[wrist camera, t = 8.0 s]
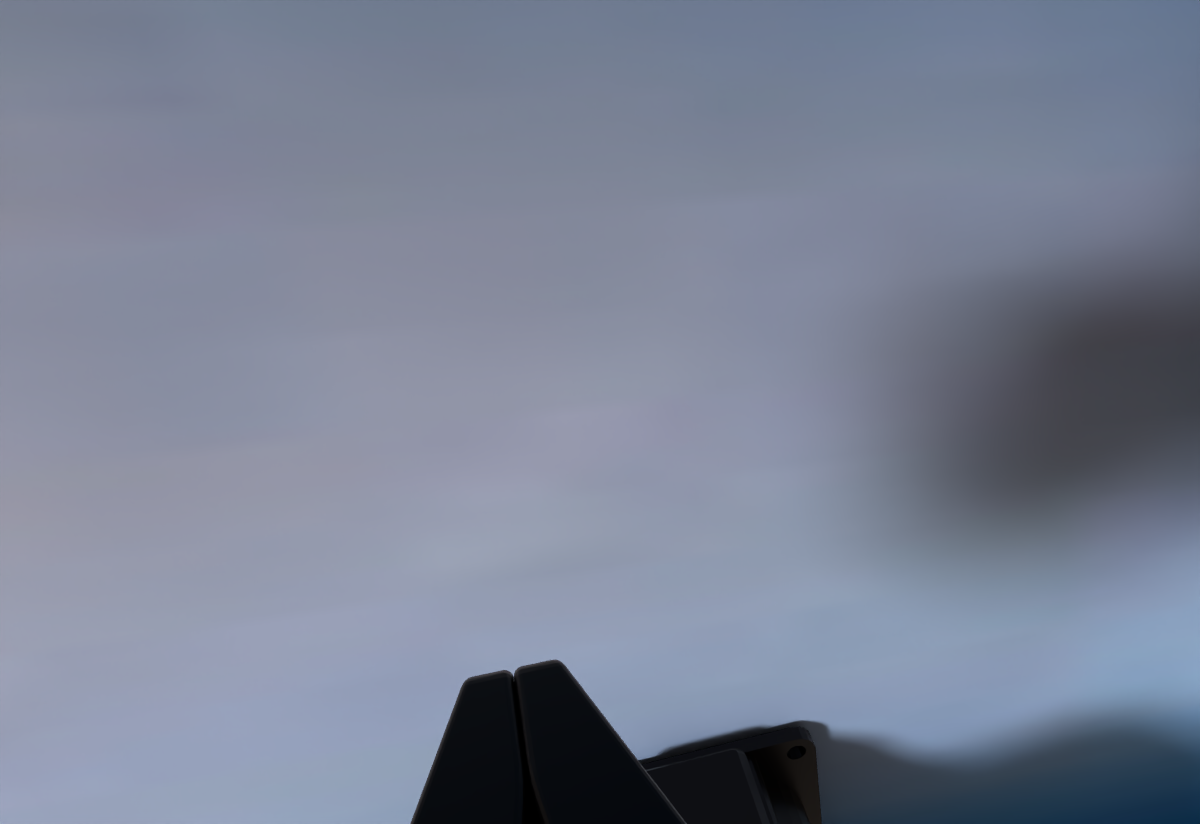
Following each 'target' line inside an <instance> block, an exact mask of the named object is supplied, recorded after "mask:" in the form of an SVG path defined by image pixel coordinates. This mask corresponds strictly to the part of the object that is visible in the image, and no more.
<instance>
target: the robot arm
mask: <svg viewBox="0 0 1200 824" xmlns="http://www.w3.org/2000/svg"><path fill="white" fill-rule="evenodd" d="M411 824H822V822H821V809H820V797H819V785H818V773H817V761H816V748H815V745H814V743H813V741H812V738H811V736H810V733H809V731H808V730H806V729H805V728H801V727H792V728H787V729H783V730H779V731H775V732H771V733H767V734H763V735H759V736H755V737H751V738H747V739H743V740H739V741H735V742H731V743H727V744H723V745H719V746H715V747H711V748H707V749H703V750H699V751H695V752H691V753H687V754H683V755H679V756H675V757H671V758H667V759H663V760H659V761H655V762H651V763H647V764H643V765H641V764H640V762H639V761H638V760H637V758H636V757H635V756H634V755H633V753H632V752H631V751H630V749H629V748H628V747H627V745H626V744H625V743H624V741H623V740H622V739H621V738H620V736H619V735H618V734H617V732H616V731H615V730H614V728H613V727H612V726H611V725H610V723H609V722H608V721H607V719H606V718H605V717H604V715H603V714H602V713H601V712H600V710H599V709H598V708H597V706H596V705H595V704H594V702H593V701H592V700H591V699H590V697H589V696H588V695H587V693H586V692H585V691H584V689H583V688H582V687H581V686H580V684H579V683H578V682H577V680H576V679H575V678H574V676H573V675H572V674H571V673H570V671H569V670H568V669H567V667H566V666H565V665H564V664H563V663H562V662H560V661H558V660H550V661H545V662H540V663H535V664H531V665H526V666H521V667H519V668H518V669H517V670H516V671H515V673H514V677H513V675H512V674H511V672H509V671H507V670H502V671H498V672H493V673H488V674H483V675H479V676H474V677H470V678H468V679H467V680H466V681H465V682H464V683H463V685H462V687H461V689H460V692H459V695H458V697H457V700H456V703H455V705H454V708H453V711H452V713H451V716H450V719H449V722H448V724H447V727H446V730H445V732H444V735H443V738H442V740H441V743H440V746H439V748H438V751H437V754H436V756H435V759H434V762H433V765H432V767H431V770H430V773H429V775H428V778H427V781H426V783H425V786H424V789H423V791H422V794H421V797H420V799H419V802H418V805H417V807H416V810H415V813H414V816H413V818H412V821H411Z"/></svg>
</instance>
